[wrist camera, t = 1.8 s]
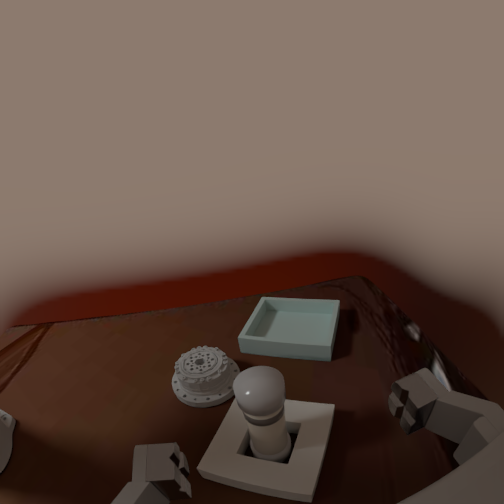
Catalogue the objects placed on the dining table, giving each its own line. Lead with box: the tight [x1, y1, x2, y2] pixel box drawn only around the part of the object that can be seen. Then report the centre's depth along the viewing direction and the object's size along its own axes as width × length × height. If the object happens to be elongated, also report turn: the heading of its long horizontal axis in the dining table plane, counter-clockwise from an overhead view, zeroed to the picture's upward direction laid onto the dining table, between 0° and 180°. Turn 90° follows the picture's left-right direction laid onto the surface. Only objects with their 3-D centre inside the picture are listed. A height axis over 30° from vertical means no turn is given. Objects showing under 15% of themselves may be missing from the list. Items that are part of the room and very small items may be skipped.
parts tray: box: [238, 297, 340, 361], centre depth 48 cm, size 14×12×3 cm
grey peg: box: [233, 366, 292, 463], centre depth 26 cm, size 4×4×12 cm
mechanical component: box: [172, 346, 240, 408], centre depth 40 cm, size 10×4×10 cm
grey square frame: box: [197, 397, 335, 503], centre depth 28 cm, size 12×12×2 cm
